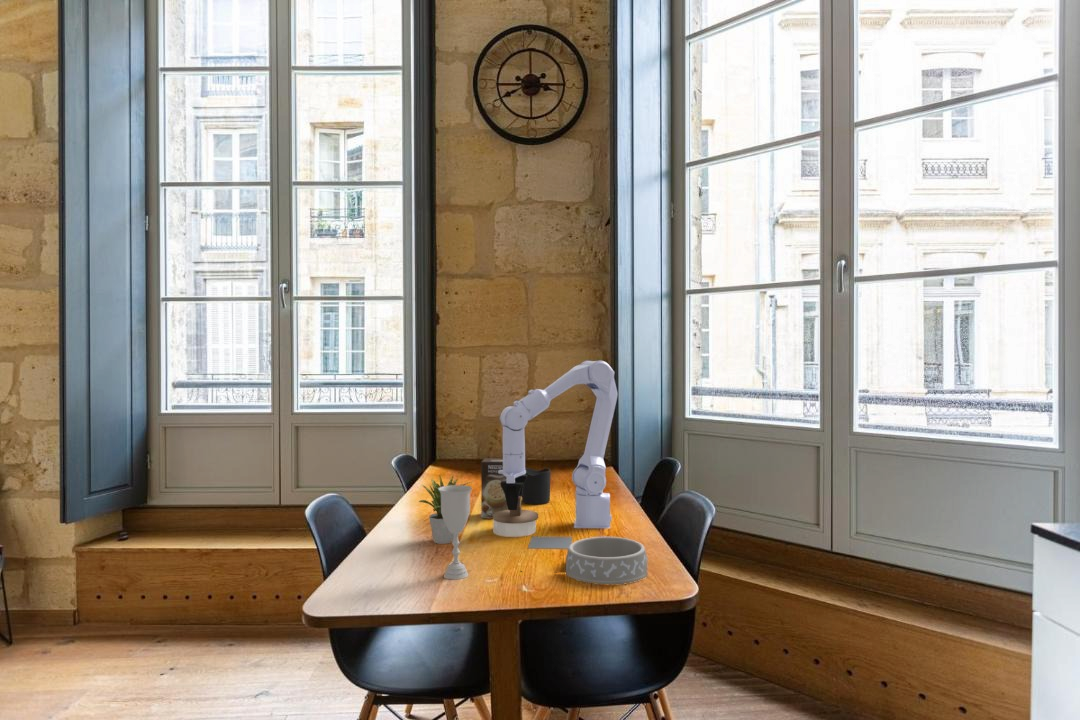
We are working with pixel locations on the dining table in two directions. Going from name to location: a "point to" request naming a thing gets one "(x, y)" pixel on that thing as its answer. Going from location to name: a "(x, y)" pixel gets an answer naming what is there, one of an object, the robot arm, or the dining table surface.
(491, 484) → the coffee box
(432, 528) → the house plant
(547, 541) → the coaster
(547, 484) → the pen holder
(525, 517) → the lid
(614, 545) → the dog bowl
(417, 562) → the dining table surface
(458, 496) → the chalice
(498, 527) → the bowl
